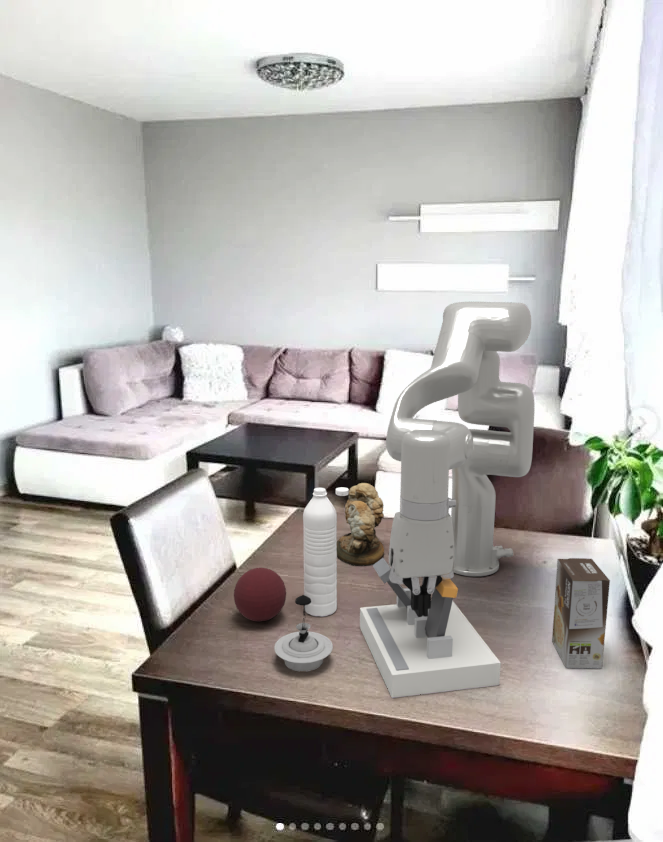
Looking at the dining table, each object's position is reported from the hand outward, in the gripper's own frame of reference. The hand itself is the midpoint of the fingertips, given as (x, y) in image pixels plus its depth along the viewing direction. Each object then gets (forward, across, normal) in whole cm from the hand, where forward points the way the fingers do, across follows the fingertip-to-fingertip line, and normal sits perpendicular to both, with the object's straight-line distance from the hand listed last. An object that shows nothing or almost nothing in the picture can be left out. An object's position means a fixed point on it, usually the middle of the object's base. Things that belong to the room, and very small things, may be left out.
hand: (420, 612), depth 111 cm
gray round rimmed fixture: (+10, +19, -6) cm, 22 cm away
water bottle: (+10, +12, -23) cm, 28 cm away
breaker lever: (+5, -2, 0) cm, 6 cm away
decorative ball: (+10, +25, -22) cm, 35 cm away
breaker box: (+10, -2, -4) cm, 11 cm away
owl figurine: (+10, -1, -50) cm, 51 cm away
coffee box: (+10, -28, +1) cm, 30 cm away
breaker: (+5, -2, -11) cm, 12 cm away
